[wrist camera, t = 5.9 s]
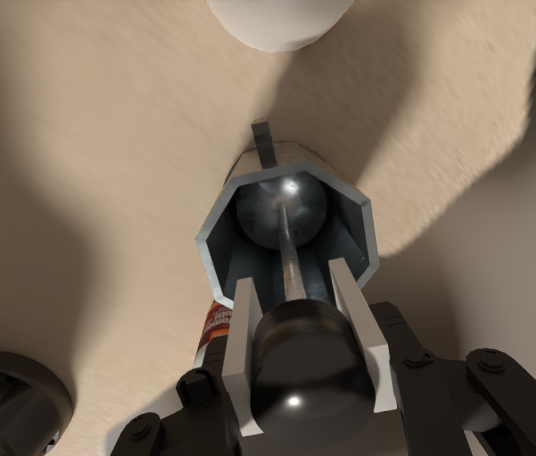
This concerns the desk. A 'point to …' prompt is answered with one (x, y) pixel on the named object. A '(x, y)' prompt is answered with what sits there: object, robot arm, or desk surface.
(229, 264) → the grey octagonal container
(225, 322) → the pill bottle
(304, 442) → the plunger
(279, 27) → the can
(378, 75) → the desk surface
